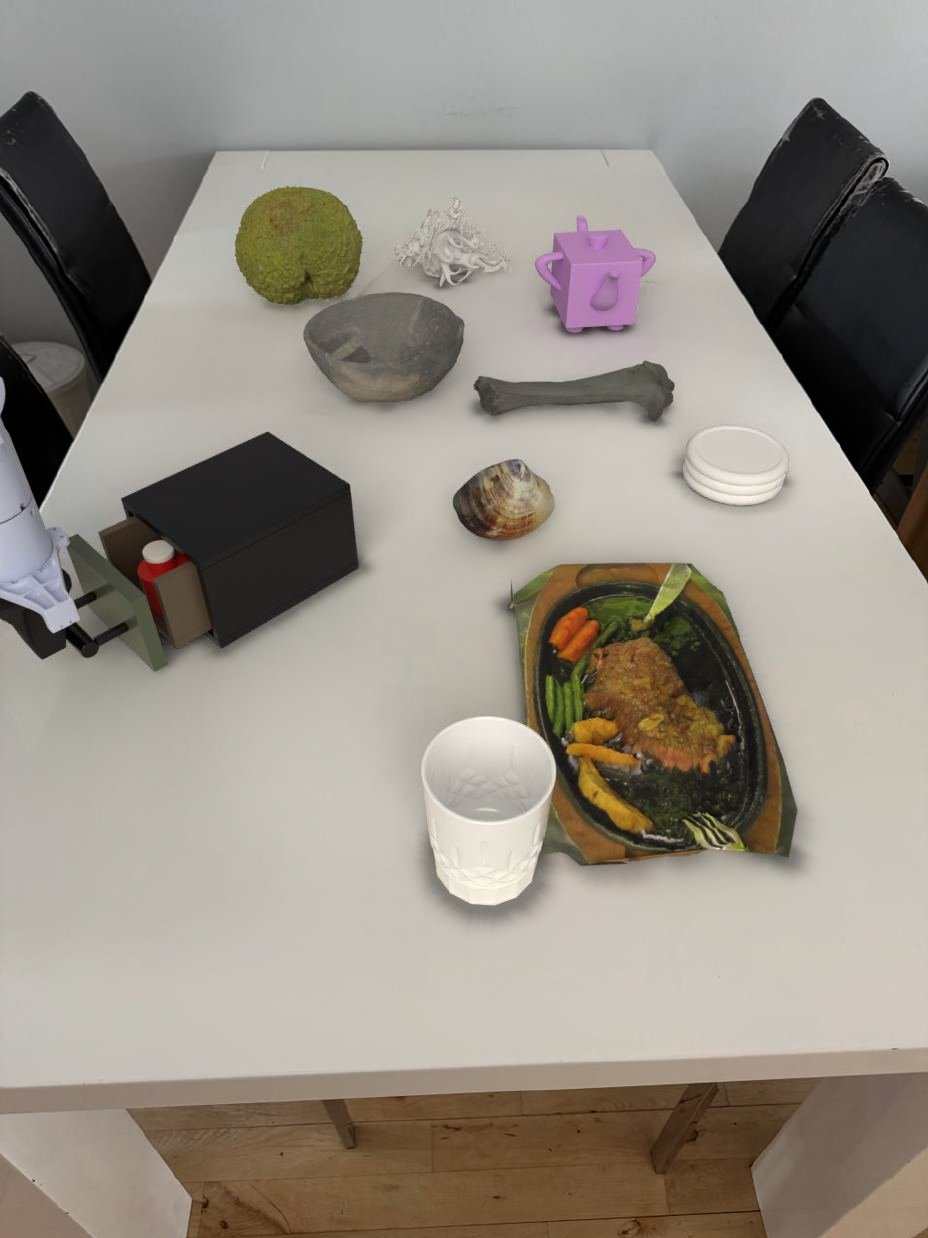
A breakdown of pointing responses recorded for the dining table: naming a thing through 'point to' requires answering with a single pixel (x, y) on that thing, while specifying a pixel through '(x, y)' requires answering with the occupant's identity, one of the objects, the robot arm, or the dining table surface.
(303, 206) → the fruit
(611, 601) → the prepared meal
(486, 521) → the seashell
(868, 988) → the dining table surface
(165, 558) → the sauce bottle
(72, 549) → the drawer
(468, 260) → the figurine
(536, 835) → the white cup
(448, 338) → the bowl
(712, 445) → the white round flat stack
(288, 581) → the cabinet
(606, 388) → the bone
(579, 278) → the teapot
